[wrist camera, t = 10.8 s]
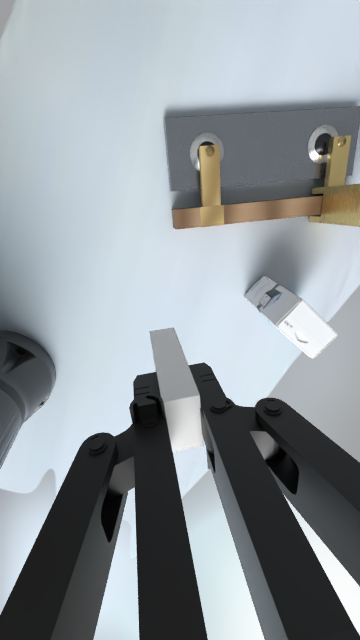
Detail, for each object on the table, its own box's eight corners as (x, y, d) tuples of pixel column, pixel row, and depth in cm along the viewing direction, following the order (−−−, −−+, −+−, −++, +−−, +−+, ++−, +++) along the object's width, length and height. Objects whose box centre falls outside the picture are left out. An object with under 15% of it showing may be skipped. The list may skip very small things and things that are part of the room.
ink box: (294, 305, 47) (342, 334, 36) (273, 326, 48) (313, 361, 37) (263, 274, 44) (304, 296, 33) (241, 297, 45) (274, 326, 34)
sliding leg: (309, 221, 41) (362, 226, 32) (317, 140, 37) (381, 118, 27) (333, 219, 42) (394, 223, 32) (344, 139, 38) (417, 116, 28)
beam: (173, 228, 39) (176, 229, 37) (166, 152, 35) (169, 148, 33) (341, 210, 42) (354, 211, 39) (351, 139, 38) (366, 134, 36)
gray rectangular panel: (170, 191, 37) (171, 191, 36) (163, 120, 34) (165, 117, 33) (345, 176, 40) (353, 175, 39) (355, 109, 37) (363, 105, 35)
